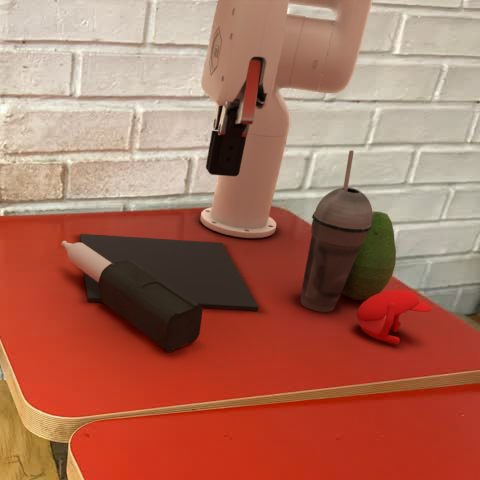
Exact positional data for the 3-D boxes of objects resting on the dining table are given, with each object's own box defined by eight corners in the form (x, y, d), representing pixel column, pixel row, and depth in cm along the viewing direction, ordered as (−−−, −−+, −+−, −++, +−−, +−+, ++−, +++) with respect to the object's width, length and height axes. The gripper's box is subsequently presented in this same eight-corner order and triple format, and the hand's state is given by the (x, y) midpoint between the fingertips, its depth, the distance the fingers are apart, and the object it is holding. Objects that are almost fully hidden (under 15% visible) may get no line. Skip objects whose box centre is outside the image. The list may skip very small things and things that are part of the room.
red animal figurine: (360, 345, 84) (376, 300, 81) (345, 321, 89) (359, 278, 86) (425, 350, 84) (442, 305, 81) (406, 326, 89) (422, 284, 86)
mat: (80, 237, 105) (80, 233, 105) (221, 246, 108) (221, 242, 107) (87, 302, 87) (88, 297, 87) (257, 311, 89) (258, 306, 89)
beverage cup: (347, 320, 89) (398, 164, 78) (290, 311, 90) (333, 155, 79) (342, 297, 95) (388, 149, 84) (288, 288, 96) (328, 140, 85)
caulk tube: (168, 316, 75) (45, 229, 90) (164, 355, 78) (47, 264, 94) (203, 302, 77) (78, 220, 93) (198, 340, 80) (78, 254, 96)
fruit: (335, 308, 92) (362, 221, 85) (313, 283, 98) (337, 200, 92) (391, 311, 93) (422, 225, 86) (367, 285, 100) (393, 204, 93)
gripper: (203, -39, 68) (174, 151, 78) (239, -33, 55) (199, 193, 65) (277, -31, 69) (239, 156, 79) (329, -23, 56) (276, 199, 66)
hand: (221, 172), depth 72 cm, fingers closed
